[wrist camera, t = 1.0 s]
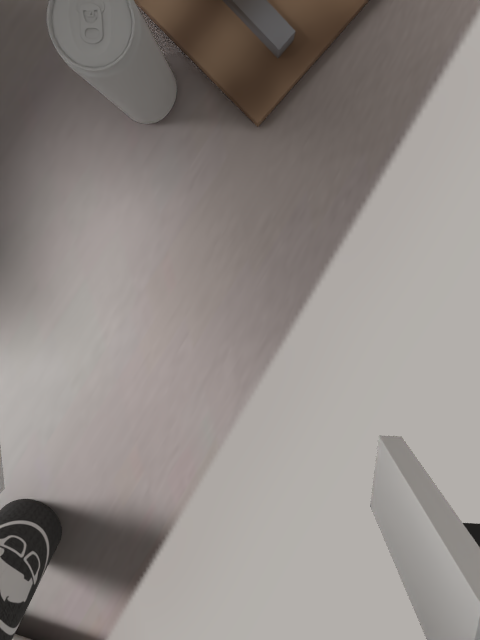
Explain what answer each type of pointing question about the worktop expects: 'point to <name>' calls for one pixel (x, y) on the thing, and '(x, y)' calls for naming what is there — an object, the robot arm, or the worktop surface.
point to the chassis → (253, 42)
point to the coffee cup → (23, 557)
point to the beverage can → (114, 54)
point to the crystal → (19, 637)
